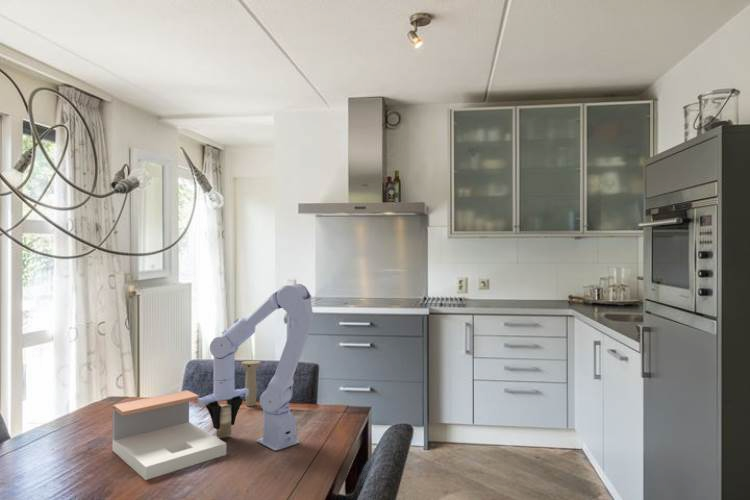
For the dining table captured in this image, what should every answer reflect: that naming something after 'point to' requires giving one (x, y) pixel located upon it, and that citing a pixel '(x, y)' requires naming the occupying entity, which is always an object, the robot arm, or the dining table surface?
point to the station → (161, 435)
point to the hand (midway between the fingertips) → (224, 426)
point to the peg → (225, 421)
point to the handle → (251, 381)
